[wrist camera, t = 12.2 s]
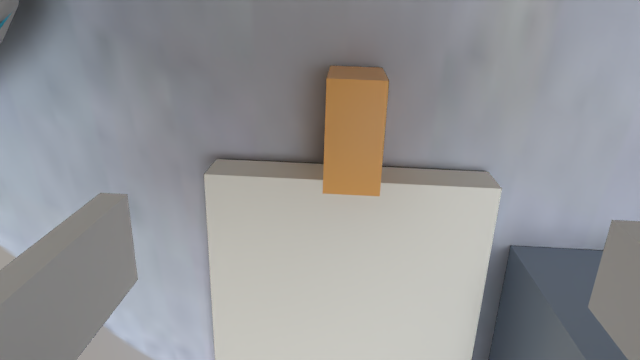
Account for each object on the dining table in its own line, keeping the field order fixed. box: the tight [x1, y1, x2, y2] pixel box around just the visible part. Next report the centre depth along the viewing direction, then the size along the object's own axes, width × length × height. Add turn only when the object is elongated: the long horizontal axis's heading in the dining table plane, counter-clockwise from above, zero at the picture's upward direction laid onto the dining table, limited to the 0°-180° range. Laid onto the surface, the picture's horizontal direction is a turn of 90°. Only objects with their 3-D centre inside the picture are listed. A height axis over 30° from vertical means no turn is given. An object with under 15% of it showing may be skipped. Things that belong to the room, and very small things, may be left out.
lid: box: [204, 66, 502, 360], centre depth 29 cm, size 23×17×5 cm
